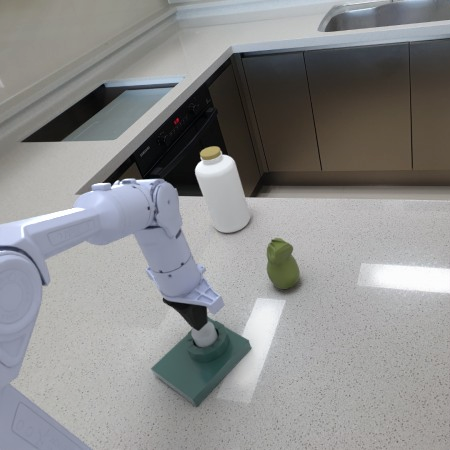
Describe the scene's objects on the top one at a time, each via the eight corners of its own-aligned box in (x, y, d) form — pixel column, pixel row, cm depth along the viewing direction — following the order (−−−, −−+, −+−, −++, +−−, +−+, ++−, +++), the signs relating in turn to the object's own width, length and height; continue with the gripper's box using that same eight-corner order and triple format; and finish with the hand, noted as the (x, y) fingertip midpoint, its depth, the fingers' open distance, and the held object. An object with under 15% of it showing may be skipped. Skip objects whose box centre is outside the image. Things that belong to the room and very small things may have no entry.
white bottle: (208, 233, 100) (181, 161, 89) (224, 211, 106) (201, 141, 95) (242, 236, 97) (219, 162, 86) (257, 212, 103) (237, 141, 92)
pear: (288, 269, 86) (277, 227, 80) (308, 281, 83) (298, 238, 77) (266, 286, 84) (253, 245, 78) (286, 299, 80) (274, 257, 74)
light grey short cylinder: (205, 351, 70) (201, 343, 68) (190, 342, 72) (186, 333, 70) (222, 335, 72) (218, 326, 70) (207, 326, 74) (203, 317, 72)
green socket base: (196, 407, 66) (188, 391, 64) (155, 375, 72) (145, 360, 70) (251, 348, 73) (245, 331, 71) (209, 323, 79) (203, 308, 76)
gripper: (228, 256, 60) (252, 325, 68) (160, 227, 68) (189, 291, 76) (188, 291, 56) (218, 360, 64) (121, 255, 64) (155, 320, 72)
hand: (200, 324), depth 70 cm, fingers closed
